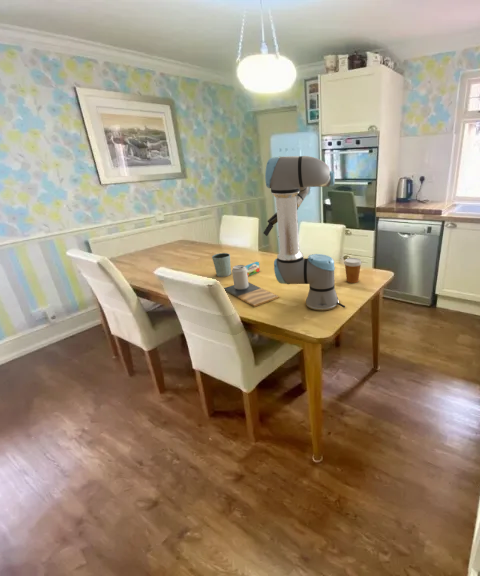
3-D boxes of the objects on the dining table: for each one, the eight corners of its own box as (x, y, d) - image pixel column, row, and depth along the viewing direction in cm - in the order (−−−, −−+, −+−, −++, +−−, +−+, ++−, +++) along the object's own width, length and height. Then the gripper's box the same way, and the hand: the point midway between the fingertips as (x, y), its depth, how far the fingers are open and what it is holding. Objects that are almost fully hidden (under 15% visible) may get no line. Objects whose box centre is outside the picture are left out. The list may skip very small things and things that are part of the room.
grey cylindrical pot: (234, 271, 196) (232, 253, 191) (228, 277, 187) (226, 258, 182) (219, 271, 197) (216, 253, 192) (212, 277, 188) (209, 258, 183)
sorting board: (278, 297, 158) (278, 296, 158) (254, 307, 149) (254, 305, 149) (246, 282, 178) (246, 281, 178) (223, 290, 169) (223, 288, 169)
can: (245, 291, 165) (242, 269, 160) (232, 290, 166) (228, 268, 161) (251, 285, 171) (248, 264, 167) (238, 284, 173) (235, 263, 168)
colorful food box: (258, 271, 196) (257, 261, 194) (259, 271, 195) (258, 261, 193) (243, 276, 187) (242, 266, 185) (245, 277, 186) (243, 267, 184)
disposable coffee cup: (364, 280, 176) (365, 259, 172) (354, 285, 170) (354, 264, 166) (351, 276, 183) (351, 256, 178) (340, 281, 176) (340, 260, 172)
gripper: (312, 210, 167) (291, 244, 163) (282, 206, 184) (263, 236, 180) (303, 201, 161) (282, 236, 158) (274, 198, 178) (254, 229, 175)
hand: (272, 236), depth 169 cm, fingers open, 13 cm apart
